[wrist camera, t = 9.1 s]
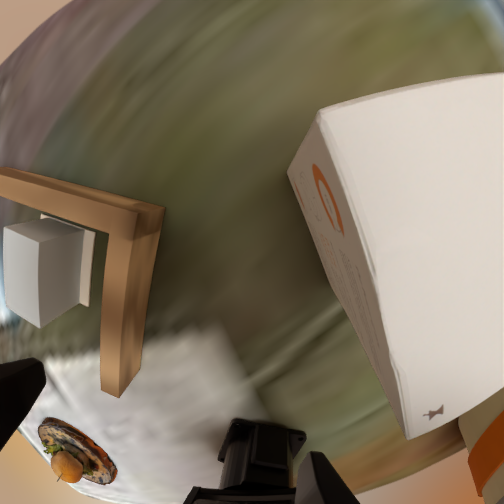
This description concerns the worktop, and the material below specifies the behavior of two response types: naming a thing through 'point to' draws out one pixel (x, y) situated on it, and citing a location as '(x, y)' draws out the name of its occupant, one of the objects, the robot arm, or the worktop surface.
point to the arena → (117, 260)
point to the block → (42, 269)
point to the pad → (84, 263)
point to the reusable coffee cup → (486, 446)
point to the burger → (75, 453)
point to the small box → (415, 237)
